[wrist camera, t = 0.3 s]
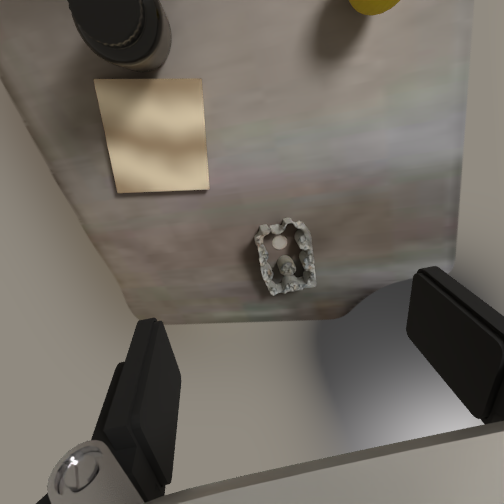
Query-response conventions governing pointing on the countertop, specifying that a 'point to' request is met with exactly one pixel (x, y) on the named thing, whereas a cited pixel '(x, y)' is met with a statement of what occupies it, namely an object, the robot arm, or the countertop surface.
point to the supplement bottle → (124, 31)
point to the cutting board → (155, 133)
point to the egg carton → (287, 258)
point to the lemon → (372, 6)
